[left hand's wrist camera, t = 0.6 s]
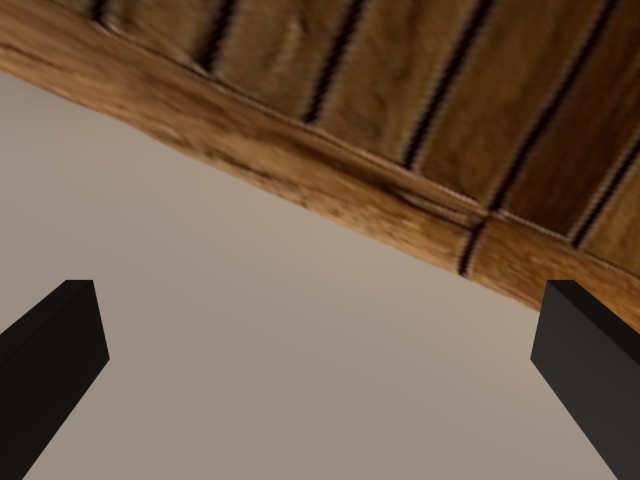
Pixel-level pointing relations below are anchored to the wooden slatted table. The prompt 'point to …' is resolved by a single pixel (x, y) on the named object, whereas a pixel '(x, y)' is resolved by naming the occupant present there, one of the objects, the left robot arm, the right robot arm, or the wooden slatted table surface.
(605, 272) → the wooden slatted table surface
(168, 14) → the wooden slatted table surface
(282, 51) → the wooden slatted table surface
